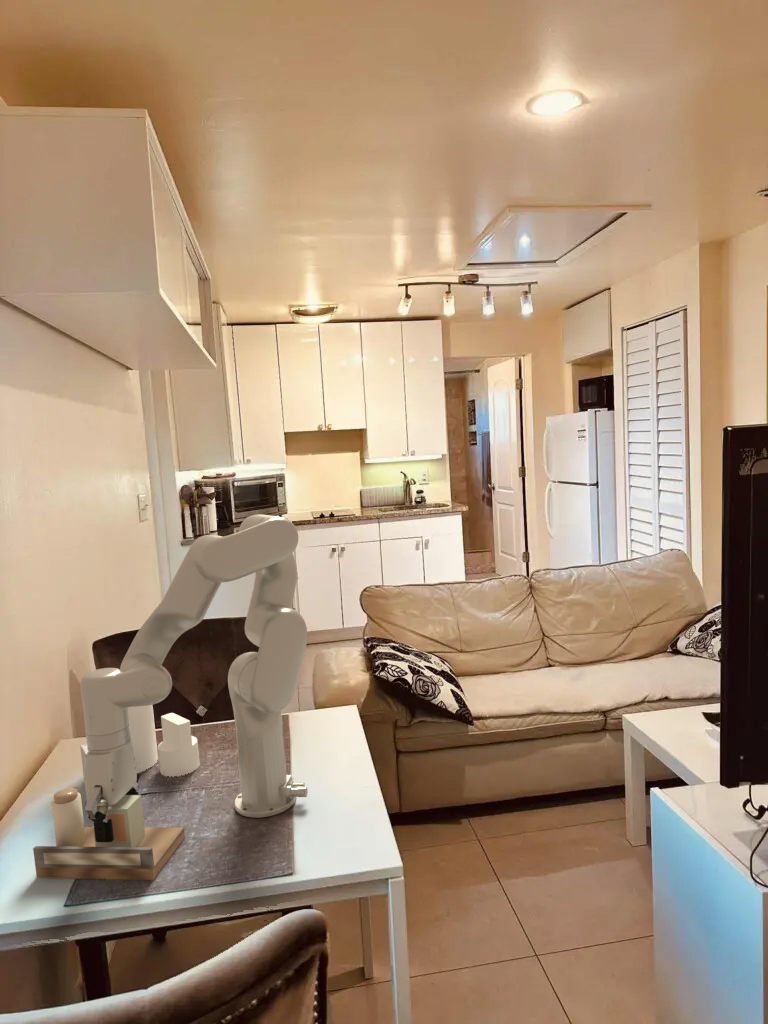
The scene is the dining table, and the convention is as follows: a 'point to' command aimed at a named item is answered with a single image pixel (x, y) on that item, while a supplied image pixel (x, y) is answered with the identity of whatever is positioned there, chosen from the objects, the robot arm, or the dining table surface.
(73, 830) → the jar
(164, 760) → the base with upright slab
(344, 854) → the dining table surface
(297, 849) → the dining table surface
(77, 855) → the shelf
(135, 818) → the carton
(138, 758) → the canister
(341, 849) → the dining table surface
